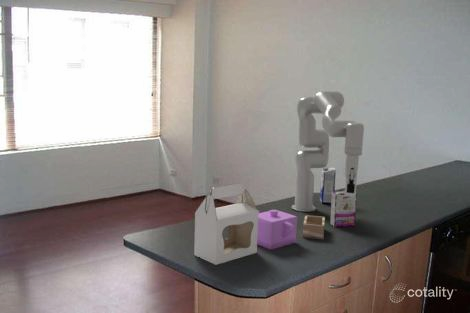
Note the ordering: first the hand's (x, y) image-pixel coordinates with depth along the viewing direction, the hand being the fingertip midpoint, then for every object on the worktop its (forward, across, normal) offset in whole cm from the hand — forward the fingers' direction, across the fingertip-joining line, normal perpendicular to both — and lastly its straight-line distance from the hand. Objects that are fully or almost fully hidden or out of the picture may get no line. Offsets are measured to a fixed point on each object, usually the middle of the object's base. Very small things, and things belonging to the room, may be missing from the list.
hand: (350, 191), depth 229 cm
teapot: (+21, +18, -32) cm, 43 cm away
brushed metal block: (+2, 0, 0) cm, 2 cm away
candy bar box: (+21, -16, -2) cm, 26 cm away
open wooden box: (+21, +1, -15) cm, 25 cm away
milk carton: (+21, -58, -10) cm, 62 cm away
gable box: (+21, +38, -48) cm, 65 cm away
